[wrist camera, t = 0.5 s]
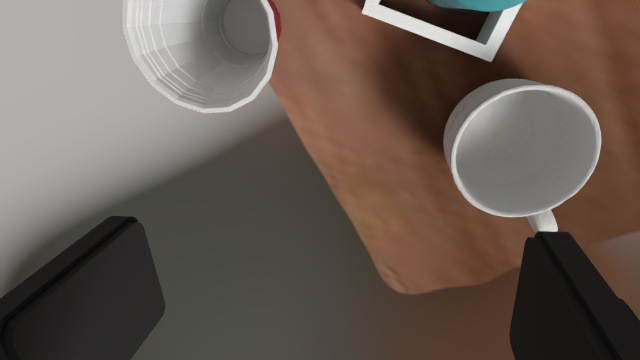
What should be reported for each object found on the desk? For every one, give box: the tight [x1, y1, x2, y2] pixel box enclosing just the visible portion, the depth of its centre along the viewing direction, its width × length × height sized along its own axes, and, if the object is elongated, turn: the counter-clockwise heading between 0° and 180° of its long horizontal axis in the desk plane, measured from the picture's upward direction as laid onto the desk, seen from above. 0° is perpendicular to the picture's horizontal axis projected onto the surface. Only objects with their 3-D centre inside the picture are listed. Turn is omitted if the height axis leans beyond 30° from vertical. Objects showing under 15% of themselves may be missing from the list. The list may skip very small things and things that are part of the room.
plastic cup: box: [122, 0, 281, 113], centre depth 31 cm, size 11×11×12 cm
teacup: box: [443, 79, 601, 233], centre depth 34 cm, size 14×11×8 cm
